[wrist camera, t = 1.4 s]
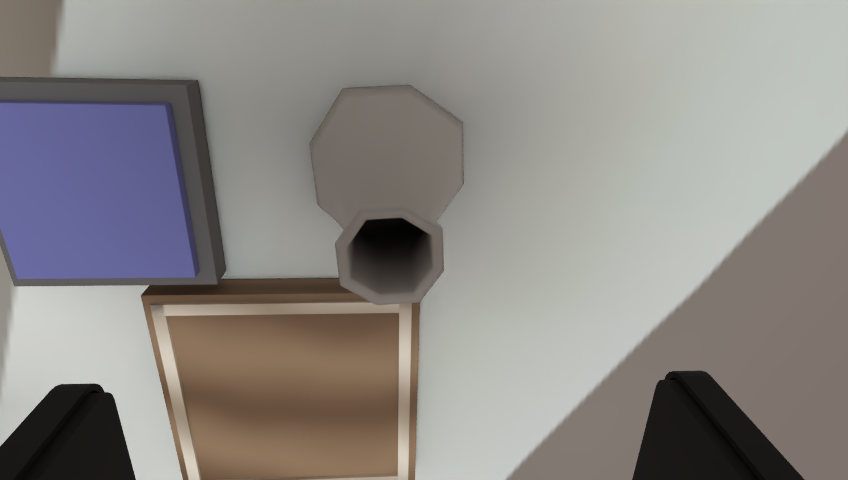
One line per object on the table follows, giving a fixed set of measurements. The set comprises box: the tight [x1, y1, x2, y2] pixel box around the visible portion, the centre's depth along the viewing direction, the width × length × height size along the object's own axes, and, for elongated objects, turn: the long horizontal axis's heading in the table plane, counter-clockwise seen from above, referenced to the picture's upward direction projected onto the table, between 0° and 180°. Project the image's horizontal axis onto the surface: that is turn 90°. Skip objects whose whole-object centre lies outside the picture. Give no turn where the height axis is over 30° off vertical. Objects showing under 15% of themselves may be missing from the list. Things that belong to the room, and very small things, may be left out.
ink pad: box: [0, 77, 226, 286], centre depth 22 cm, size 9×9×2 cm
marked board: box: [141, 278, 420, 480], centre depth 28 cm, size 13×13×2 cm
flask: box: [310, 85, 464, 305], centre depth 19 cm, size 7×7×10 cm
